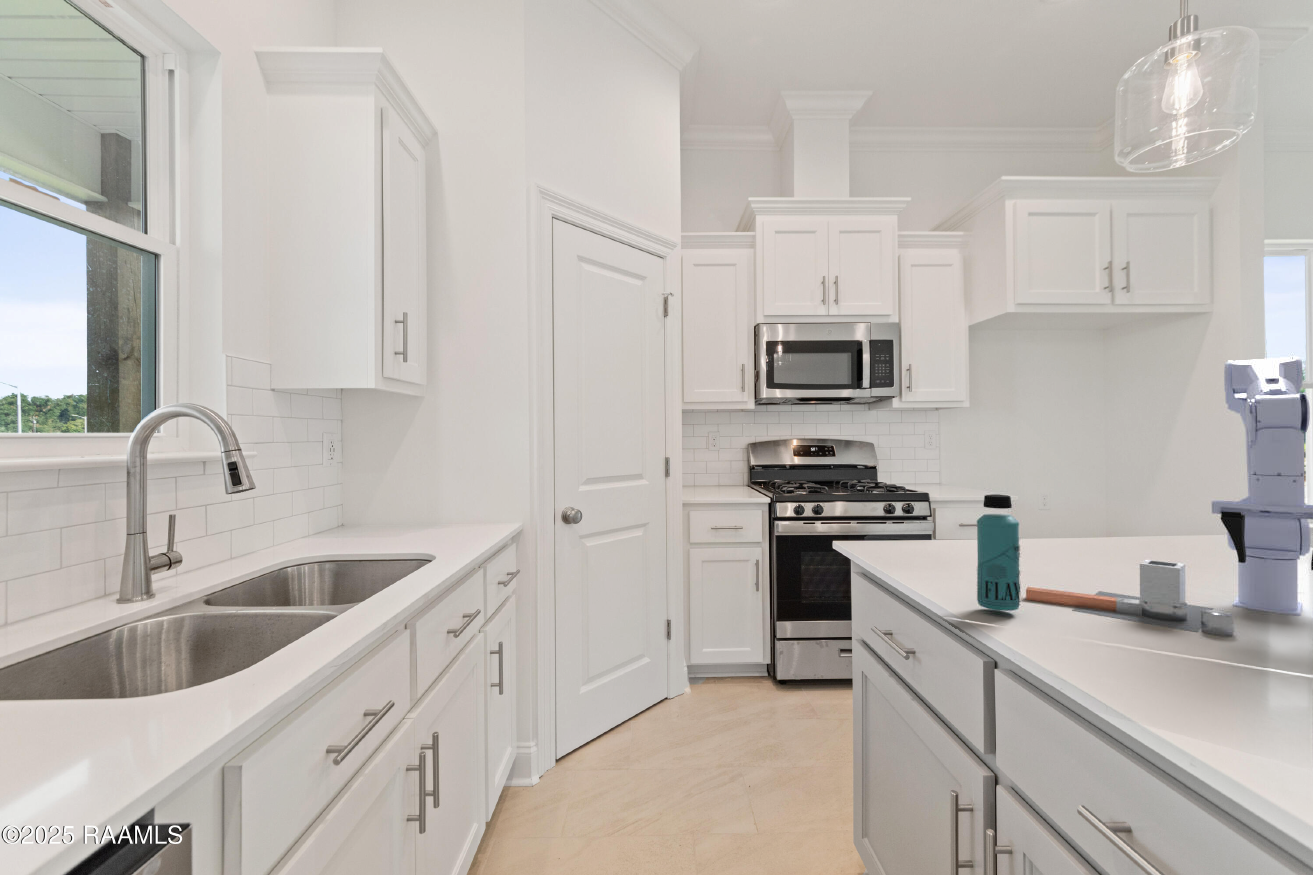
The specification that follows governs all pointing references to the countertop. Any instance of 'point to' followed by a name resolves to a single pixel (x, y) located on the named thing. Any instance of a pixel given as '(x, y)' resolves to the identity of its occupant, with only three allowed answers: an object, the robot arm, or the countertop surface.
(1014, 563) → the beverage bottle
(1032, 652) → the countertop surface
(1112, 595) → the mat
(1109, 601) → the ratchet
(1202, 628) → the socket
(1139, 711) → the countertop surface
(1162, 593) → the socket
